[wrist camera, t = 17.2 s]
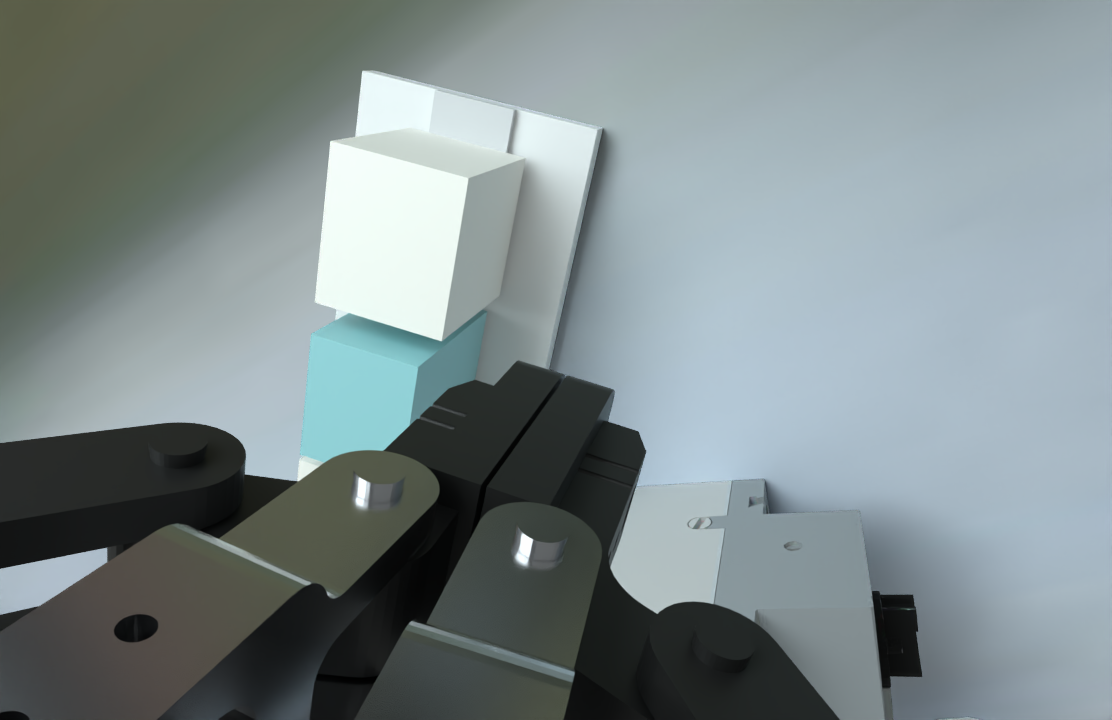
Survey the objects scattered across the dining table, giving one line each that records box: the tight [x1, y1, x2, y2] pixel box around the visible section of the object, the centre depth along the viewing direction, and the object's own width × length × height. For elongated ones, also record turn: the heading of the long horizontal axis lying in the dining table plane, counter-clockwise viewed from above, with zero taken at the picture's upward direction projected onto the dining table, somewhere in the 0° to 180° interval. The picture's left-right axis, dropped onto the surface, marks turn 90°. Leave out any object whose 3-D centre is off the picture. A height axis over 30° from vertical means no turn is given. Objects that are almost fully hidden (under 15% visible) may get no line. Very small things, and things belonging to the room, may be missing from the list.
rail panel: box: [297, 71, 603, 481], centre depth 41 cm, size 26×12×9 cm, turn 168°
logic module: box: [300, 310, 487, 463], centre depth 40 cm, size 6×5×8 cm
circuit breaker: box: [610, 479, 922, 720], centre depth 37 cm, size 8×14×15 cm, turn 102°
